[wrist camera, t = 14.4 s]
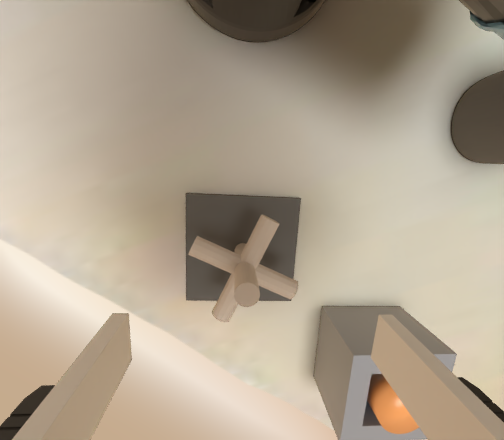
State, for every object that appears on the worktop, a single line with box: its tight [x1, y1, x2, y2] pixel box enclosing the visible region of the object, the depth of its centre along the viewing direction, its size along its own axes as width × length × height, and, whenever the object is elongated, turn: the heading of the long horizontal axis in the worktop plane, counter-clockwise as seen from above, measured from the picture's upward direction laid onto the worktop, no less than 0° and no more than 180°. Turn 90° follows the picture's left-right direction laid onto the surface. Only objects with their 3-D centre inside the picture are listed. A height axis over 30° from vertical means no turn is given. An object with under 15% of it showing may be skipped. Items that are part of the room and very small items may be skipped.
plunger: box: [367, 374, 419, 434], centre depth 24 cm, size 5×5×2 cm
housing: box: [314, 306, 457, 440], centre depth 28 cm, size 10×10×8 cm
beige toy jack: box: [188, 215, 298, 322], centre depth 22 cm, size 10×10×10 cm
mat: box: [186, 193, 301, 301], centre depth 27 cm, size 12×12×1 cm
